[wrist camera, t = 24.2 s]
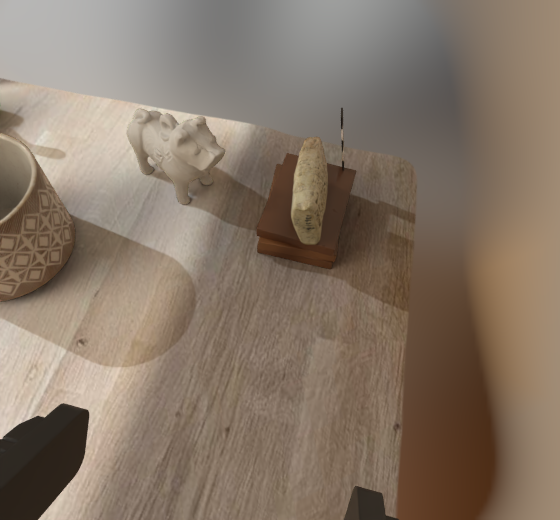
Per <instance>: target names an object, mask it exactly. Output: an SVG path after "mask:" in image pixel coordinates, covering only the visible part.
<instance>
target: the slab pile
mask: <svg viewBox="0 0 560 520" xmlns="http://www.w3.org/2000/svg"><path fill="white" fill-rule="evenodd" d="M298 158H299V156H297V155H293V154H289V153H287V154H286V157H285V159H284V162H283V164H282V165H280V164H277V165H276V169H275V173H274V177H273V182H272V186H271V190H270V194H269V199H268V202H267V204H266V206H265V209H264V211H263V214H262V216H261V219H260V221H259V224H258V226H257V236H259V241H258V245H257V252H258V253H263V254H267V255H271V256H276V257H280V258H284V259H289V260H293V261H297V262H301V263H306V264H310V265H314V266H319V267H323V268H327V269H331V267H332V264H333V262H335V259H336V256H337V249H338V240H339V233H340V229H341V226H342V222H343V218H344V215H345V211H346V207H347V203H348V200H349V196H350V192H351V189H352V185H353V181H354V178H355V174H356V170H352V169H348V168H344V171H343V170H342V167H340V166H336V165H332V164H328V163H327V172H328V188H327V200H326V207H325V212H324V215H323V220H322V231H321V238H320V241H319V243H318V244H315V245H305V244H303V243H302V242H301V241H300V239H299V237H298V235H297V233H296V230H295V228H294V225H293V222H292V219H291V206H292V198H293V185H294V173H295V170H296V166H297V163H298Z"/></svg>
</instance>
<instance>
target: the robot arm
mask: <svg viewBox="0 0 560 520" xmlns="http://www.w3.org/2000/svg"><path fill="white" fill-rule="evenodd" d="M88 422H89V411H88V410H86V409H82V408H79V407H75V406H72V405H68V404H64V403H63V404H60V405H59V406H58V407H57V408H55V409H54V410H53V411H52V412H51V413H50V414H48V415H47V416H46V417H45V418H44V417H40V416H37V417H34V418H32V419H30V420H28V421H25V422H23V423H21V424H19V425H17V426H16V427H15V428H14V429H12V430H11V431H10V432H9V433H7V434H6V435H5V436H4V437H3V439H0V520H38V519H39V518H40V517H41V515H42V514H43V513H44V512H45V511H46V510H47V508H48V507H49V506H50V505H51V504H52V502H53V501H54V500H55V499H56V498H57V497H58V495H59V494H60V493H61V492H62V491H63V489H64V488H65V487H66V486H67V485H68V484H69V482H70V481H71V480H72V479H73V478H74V476H75V475H76V474H77V472H78V470H79V468H80V466H81V464H82V462H83V459H84V455H85V448H86V439H87V431H88ZM344 520H399V519H396V518H393V517H389V516H386V515H385V508H384V501H383V495H382V493H380V492H376V491H372V490H369V489H365V488H362V487H358V486H355V487H354V489H353V492H352V495H351V498H350V502H349V505H348V508H347V512H346V515H345V518H344Z"/></svg>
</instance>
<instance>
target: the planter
mask: <svg viewBox="0 0 560 520" xmlns="http://www.w3.org/2000/svg"><path fill="white" fill-rule="evenodd" d="M74 243H75V227H74V223H73V221H72V218H71V216H70V215H69V213H68V211H67V210H66V208H65V207H64V205H63V203H62V202H61V200H60V198H59V197H58V195H57V193H56V192H55V190H54V188H53V187H52V185H51V184H50V182H49V180H48V179H47V177H46V175H45V174H44V172H43V170H42V169H41V167H40V165H39V164H38V162H37V161H36V159H35V157H34V156H33V154H32V152H31V151H30V150H29V149H28V147H27V146H26V145H24V144H23V143H22V142H20V141H19V140H17V139H15V138H13V137H11V136H9V135H6V134H2V133H0V301H5V300H10V299H14V298H17V297H20V296H23V295H25V294H28V293H30V292H32V291H34V290H36V289H38V288H39V287H41V286H43V285H44V284H45V283H47V282H48V281H49V280H51V279H52V278H53V277H54V276H55V275H56V274H57V273H58V272H59V271H60V270H61V269H62V267H63V266H64V265H65V263H66V262H67V260H68V259H69V257H70V255H71V252H72V250H73V247H74Z"/></svg>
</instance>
